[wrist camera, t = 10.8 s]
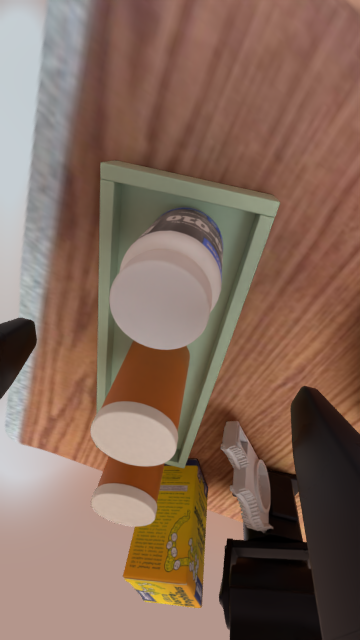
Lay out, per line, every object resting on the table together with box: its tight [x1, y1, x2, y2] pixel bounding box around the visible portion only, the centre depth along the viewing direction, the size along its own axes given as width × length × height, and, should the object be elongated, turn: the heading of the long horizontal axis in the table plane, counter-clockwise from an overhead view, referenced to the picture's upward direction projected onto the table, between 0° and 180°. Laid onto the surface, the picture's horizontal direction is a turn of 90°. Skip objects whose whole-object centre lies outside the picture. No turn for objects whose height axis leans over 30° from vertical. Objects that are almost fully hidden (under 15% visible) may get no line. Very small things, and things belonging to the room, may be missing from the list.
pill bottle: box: [109, 207, 223, 350], centre depth 14 cm, size 5×5×8 cm
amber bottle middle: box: [90, 341, 190, 466], centre depth 19 cm, size 5×5×8 cm
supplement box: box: [123, 459, 208, 608], centre depth 29 cm, size 6×6×11 cm
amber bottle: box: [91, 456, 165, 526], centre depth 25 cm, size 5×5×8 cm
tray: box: [96, 160, 280, 468], centre depth 22 cm, size 27×10×2 cm, turn 170°
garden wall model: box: [220, 421, 273, 533], centre depth 26 cm, size 12×2×6 cm, turn 26°
